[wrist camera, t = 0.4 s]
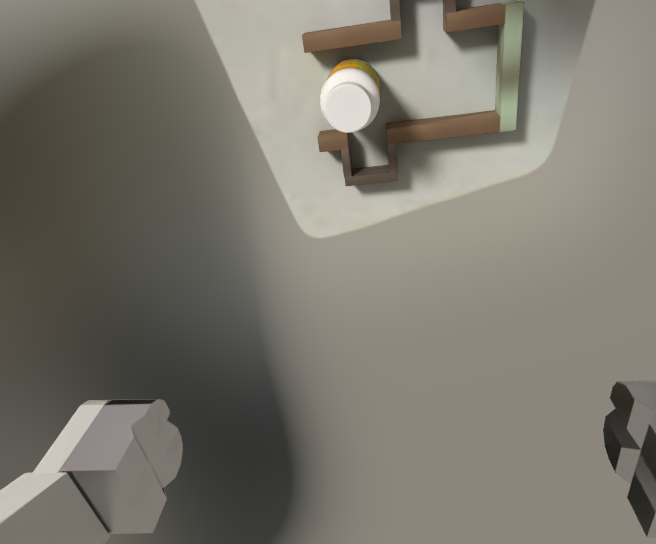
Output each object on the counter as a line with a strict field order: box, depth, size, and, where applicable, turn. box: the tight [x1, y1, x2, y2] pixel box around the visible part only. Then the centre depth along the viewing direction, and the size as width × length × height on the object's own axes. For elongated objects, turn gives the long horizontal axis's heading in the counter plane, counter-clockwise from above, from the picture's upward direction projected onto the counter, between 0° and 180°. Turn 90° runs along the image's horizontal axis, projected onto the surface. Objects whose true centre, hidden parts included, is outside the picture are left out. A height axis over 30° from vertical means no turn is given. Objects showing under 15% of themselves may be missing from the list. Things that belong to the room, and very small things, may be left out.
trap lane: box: [302, 0, 524, 186], centre depth 46 cm, size 19×20×2 cm
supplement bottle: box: [320, 59, 380, 133], centre depth 43 cm, size 5×5×10 cm
